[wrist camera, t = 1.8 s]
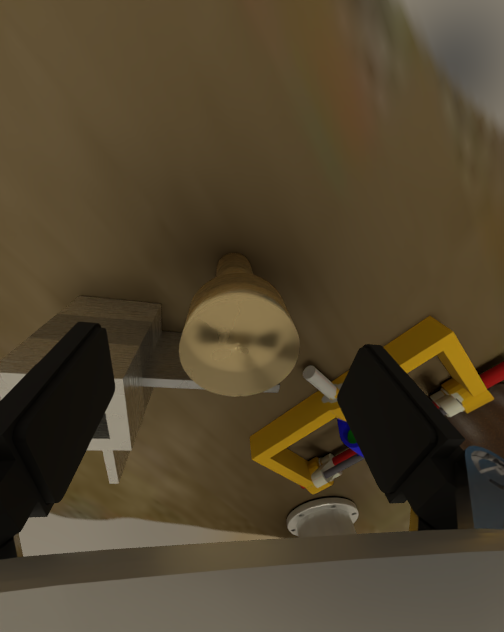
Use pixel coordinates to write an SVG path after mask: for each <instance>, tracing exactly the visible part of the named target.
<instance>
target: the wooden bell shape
mask: <svg viewBox="0 0 504 632" xmlns="http://www.w3.org/2000/svg"><path fill="white" fill-rule="evenodd" d="M299 352H300V340H299V336H298V332H297V330H296V328H295V326H294V323H293V321H292V319H291V317H290V315H289V312H288V310H287V308H286V306H285V304H284V301H283V299H282V297H281V295H280V294H279V292H278V291H277V290H276V289H275V287H274V286H272V285H271V284H270V283H269V282H267V281H266V280H264V279H262V278H260V277H258V276H255V275H253V273H252V269H251V265H250V263H249V261H248V259H247V258H246V257H245V256H243V255H241V254H239V253H229V254H226V255H225V256H223V257H222V258H221V259H220V260H219V262H218V265H217V271H216V278H214V279H212V280H210V281H209V282H207V283H206V284H204V285H203V286H202V287H201V288H200V289H199V290H198V291H197V293H196V294H195V296H194V297H193V299H192V301H191V304H190V308H189V311H188V315H187V318H186V322H185V325H184V329H183V332H182V336H181V340H180V344H179V357H180V361H181V364H182V367H183V369H184V370H185V372H186V374H187V375H188V376H189V377H190V378H191V379H192V380H193V381H194V382H195V383H196V384H198V385H199V386H200V387H202V388H204V389H206V390H208V391H210V392H213V393H216V394H219V395H224V396H233V397H241V396H249V395H254V394H258V393H261V392H264V391H266V390H269V389H270V388H272V387H274V386H276V385H277V384H279V383H280V382H281V381H283V380H284V379H285V378H286V377H287V376H288V375H289V373H290V372H291V371H292V370H293V368H294V366H295V364H296V362H297V360H298V356H299Z"/></svg>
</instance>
